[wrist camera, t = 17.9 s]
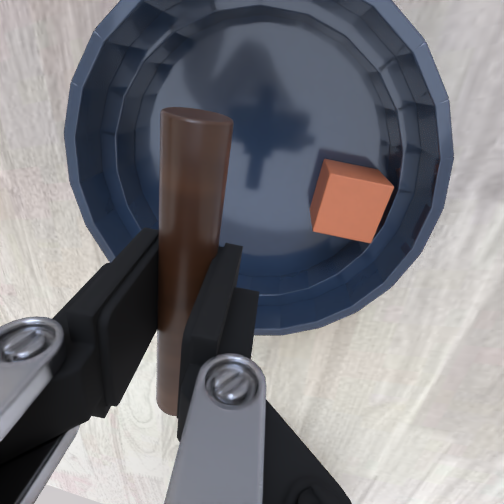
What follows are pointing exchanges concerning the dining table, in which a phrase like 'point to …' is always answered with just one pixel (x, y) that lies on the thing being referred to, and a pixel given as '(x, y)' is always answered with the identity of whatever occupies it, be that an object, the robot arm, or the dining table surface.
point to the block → (349, 201)
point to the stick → (186, 227)
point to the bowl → (268, 136)
